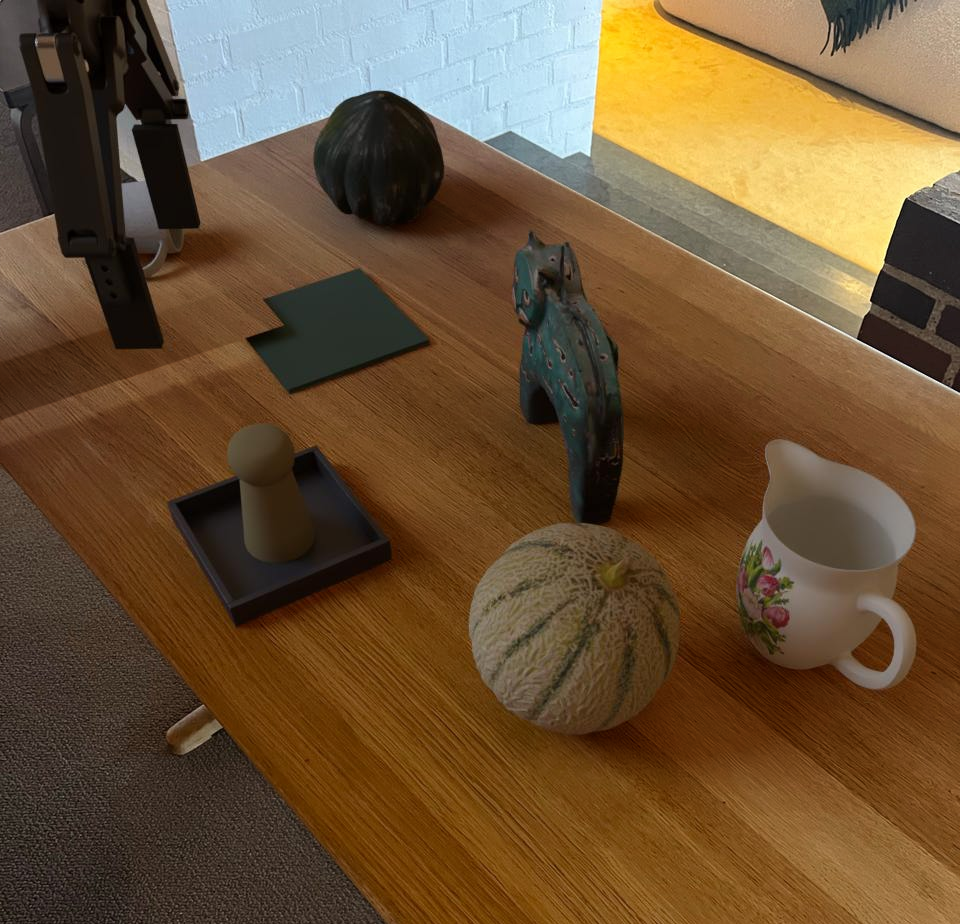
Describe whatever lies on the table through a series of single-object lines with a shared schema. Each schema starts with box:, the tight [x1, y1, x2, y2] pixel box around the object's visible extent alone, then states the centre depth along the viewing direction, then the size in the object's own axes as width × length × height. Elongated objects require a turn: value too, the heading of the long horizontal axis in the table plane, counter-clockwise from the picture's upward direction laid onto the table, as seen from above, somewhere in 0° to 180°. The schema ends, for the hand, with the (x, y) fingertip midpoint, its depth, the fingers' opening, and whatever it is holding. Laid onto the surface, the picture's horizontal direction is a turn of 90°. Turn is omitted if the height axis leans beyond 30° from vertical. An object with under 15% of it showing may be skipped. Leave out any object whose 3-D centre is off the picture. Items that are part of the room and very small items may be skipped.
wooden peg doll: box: [226, 422, 315, 563], centre depth 81 cm, size 6×6×11 cm
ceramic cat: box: [511, 229, 625, 525], centre depth 84 cm, size 20×6×20 cm, turn 14°
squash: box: [312, 89, 445, 228], centre depth 115 cm, size 14×15×15 cm
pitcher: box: [735, 438, 917, 691], centre depth 72 cm, size 11×18×14 cm, turn 24°
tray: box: [166, 444, 393, 628], centre depth 84 cm, size 14×14×2 cm
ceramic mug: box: [122, 180, 185, 279], centre depth 111 cm, size 11×8×8 cm
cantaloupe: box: [468, 522, 681, 736], centre depth 69 cm, size 15×15×15 cm
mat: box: [245, 267, 431, 395], centre depth 104 cm, size 16×16×1 cm
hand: (161, 282), depth 63 cm, fingers open, 13 cm apart
